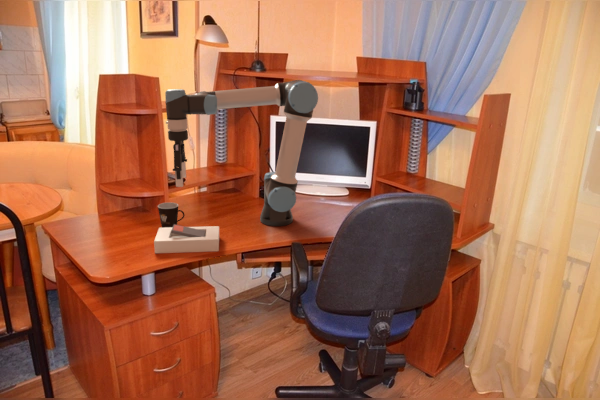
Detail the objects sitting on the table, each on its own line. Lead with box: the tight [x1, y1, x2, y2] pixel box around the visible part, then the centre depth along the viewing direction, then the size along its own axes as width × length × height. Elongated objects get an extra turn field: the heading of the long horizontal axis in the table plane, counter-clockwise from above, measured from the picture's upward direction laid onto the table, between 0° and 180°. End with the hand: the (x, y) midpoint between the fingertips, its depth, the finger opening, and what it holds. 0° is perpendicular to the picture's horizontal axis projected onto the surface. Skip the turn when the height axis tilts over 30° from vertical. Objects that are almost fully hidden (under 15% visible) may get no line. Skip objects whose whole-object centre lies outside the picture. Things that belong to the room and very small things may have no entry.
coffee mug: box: [157, 201, 186, 228], centre depth 192 cm, size 12×9×10 cm
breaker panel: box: [153, 225, 220, 254], centre depth 176 cm, size 24×14×5 cm, turn 99°
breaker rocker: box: [171, 224, 205, 237], centre depth 175 cm, size 13×7×1 cm, turn 100°
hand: (181, 181), depth 180 cm, fingers open, 13 cm apart
